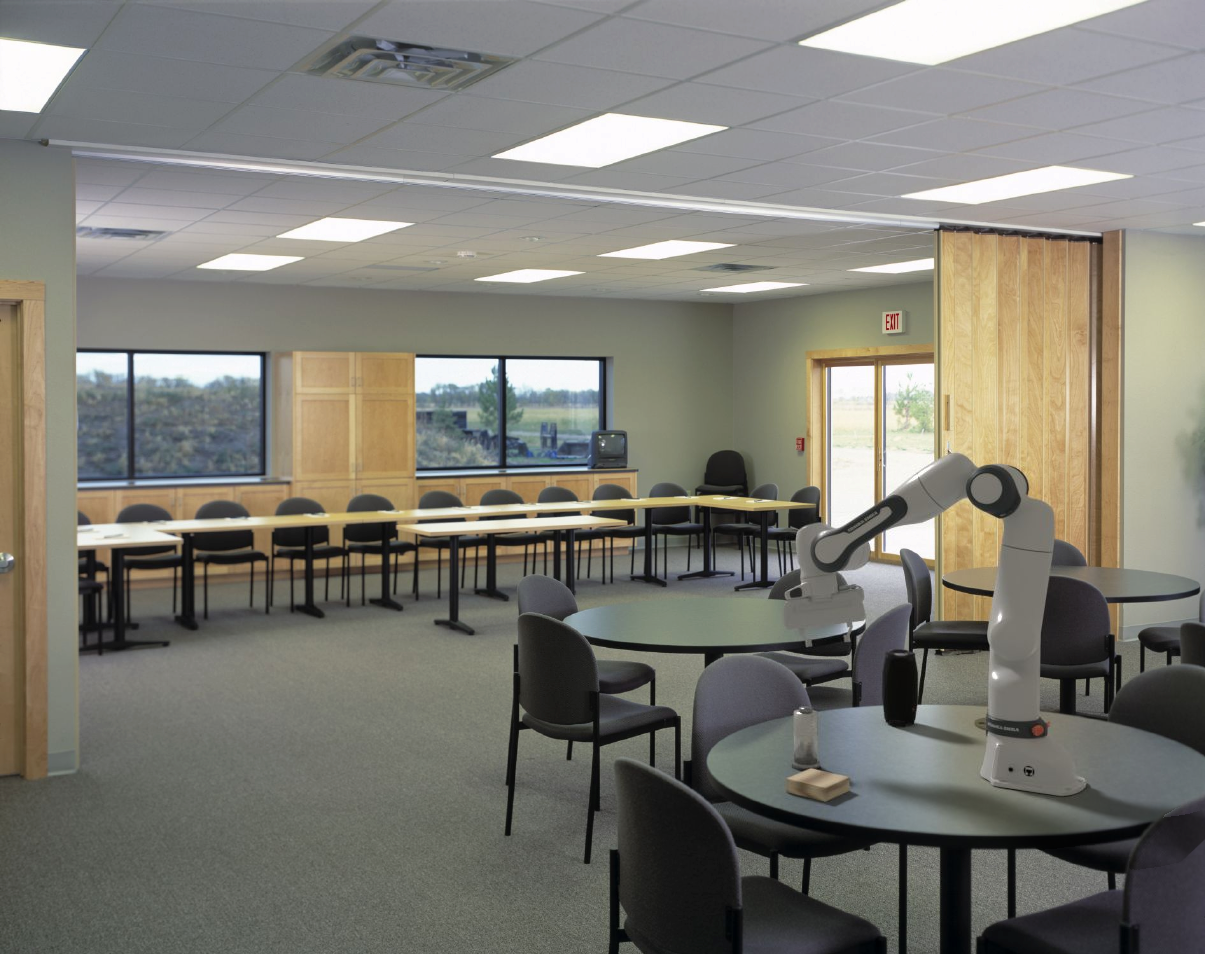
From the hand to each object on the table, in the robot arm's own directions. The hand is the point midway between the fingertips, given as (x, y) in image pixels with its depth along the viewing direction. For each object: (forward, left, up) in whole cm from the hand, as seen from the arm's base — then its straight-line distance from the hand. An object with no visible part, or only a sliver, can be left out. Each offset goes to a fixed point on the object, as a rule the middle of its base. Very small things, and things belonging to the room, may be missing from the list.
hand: (828, 644), depth 284 cm
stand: (-15, +29, -26) cm, 42 cm away
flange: (-23, -51, -27) cm, 62 cm away
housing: (-3, +15, -27) cm, 31 cm away
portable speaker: (-1, -35, -27) cm, 44 cm away
